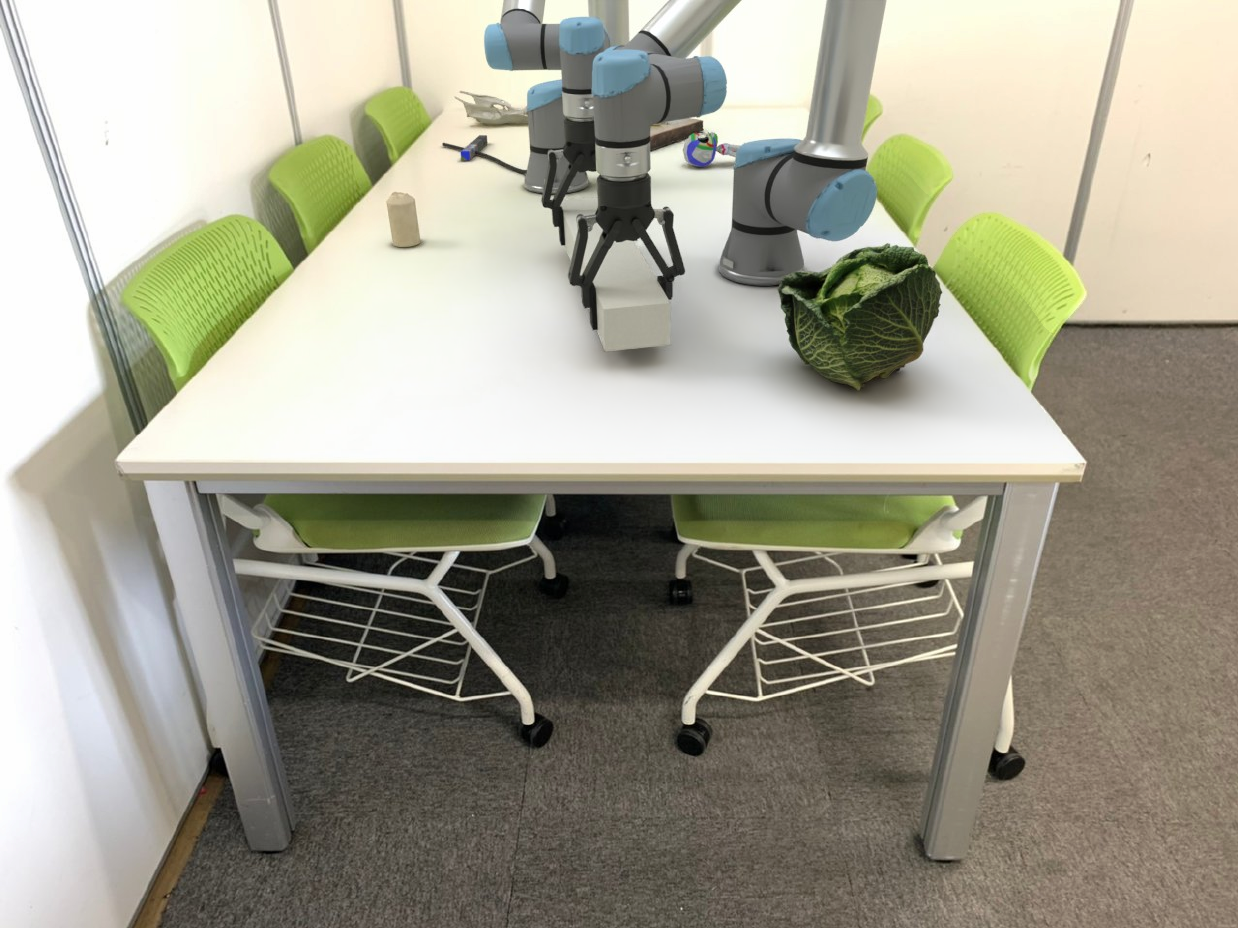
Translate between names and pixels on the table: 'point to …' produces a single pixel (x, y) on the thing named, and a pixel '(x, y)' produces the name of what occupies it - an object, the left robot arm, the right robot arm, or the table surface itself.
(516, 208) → the table surface
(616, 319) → the slab
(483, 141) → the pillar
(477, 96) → the anatomical model
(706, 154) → the toy
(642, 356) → the table surface
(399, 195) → the candle
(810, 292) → the vegetable
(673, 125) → the plaque
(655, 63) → the right robot arm
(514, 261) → the table surface
